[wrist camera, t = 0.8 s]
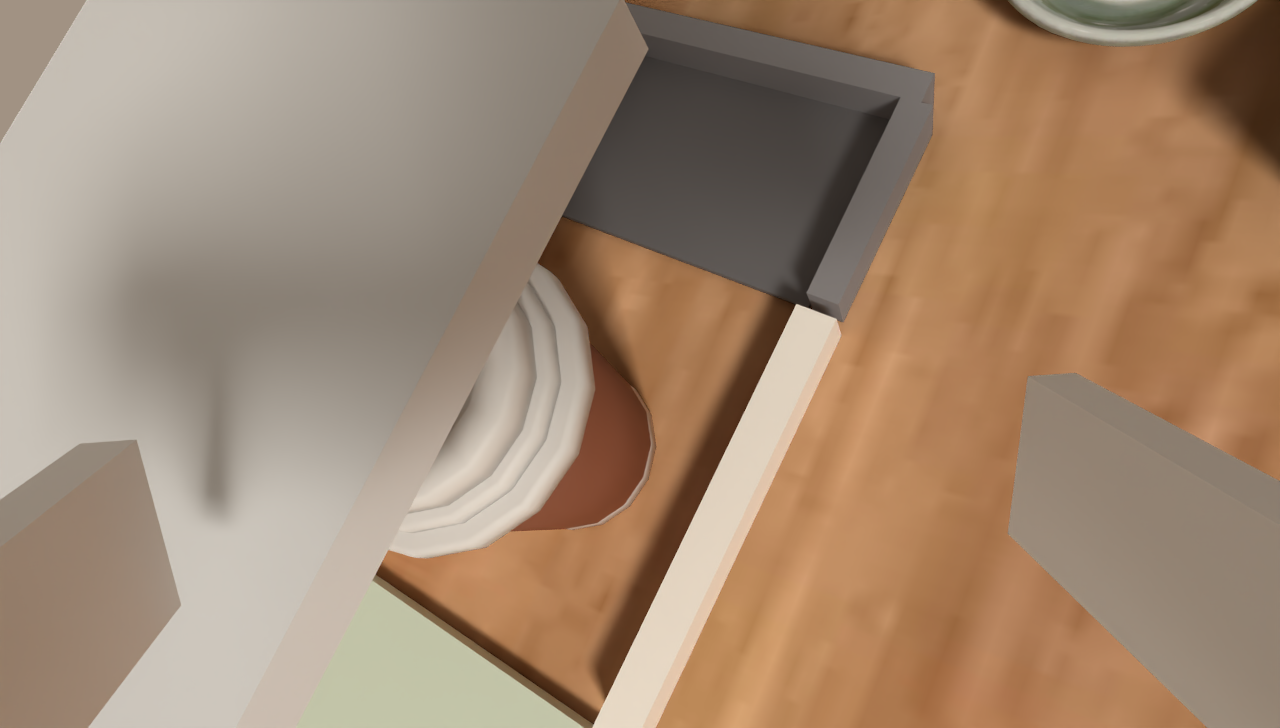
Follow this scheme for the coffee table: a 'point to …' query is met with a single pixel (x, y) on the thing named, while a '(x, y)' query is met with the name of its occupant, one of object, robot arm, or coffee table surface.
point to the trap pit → (758, 158)
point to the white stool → (314, 306)
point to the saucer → (1128, 18)
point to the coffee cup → (534, 437)
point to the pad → (423, 676)
